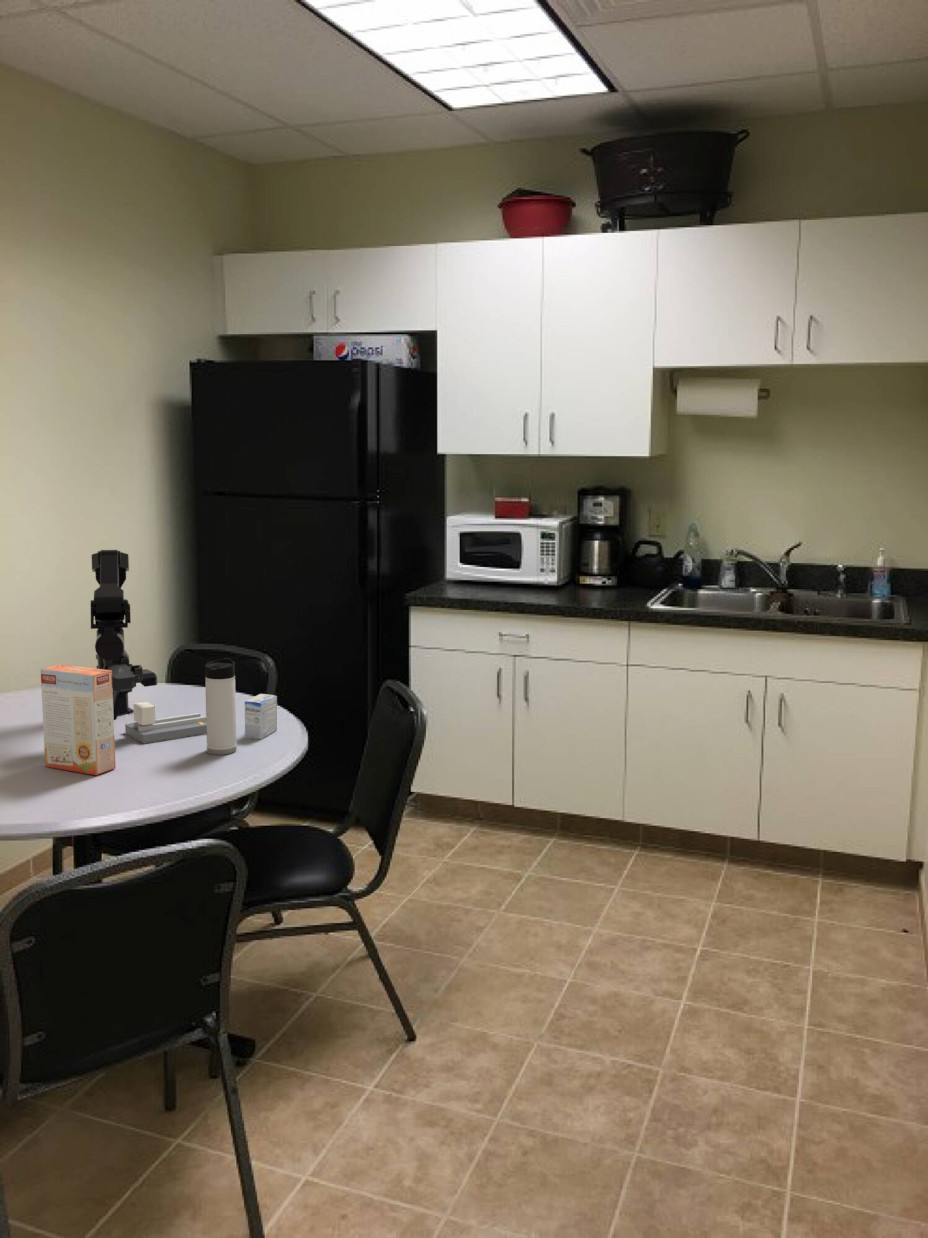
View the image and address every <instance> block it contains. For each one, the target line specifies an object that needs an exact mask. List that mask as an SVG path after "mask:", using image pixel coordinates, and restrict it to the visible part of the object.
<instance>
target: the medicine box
mask: <svg viewBox="0 0 928 1238" xmlns="http://www.w3.org/2000/svg"><path fill="white" fill-rule="evenodd" d="M277 730H278V696H277V695H275V694H266V693H259V694H257V695H255V696H253V697H252V698H250V699H247V700H245V701H244V738H246V739H252V738H254V740H263V739H264V738H266V737H268V736H269V735H272V734H273V733H275V732H277Z"/></svg>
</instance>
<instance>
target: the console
mask: <svg viewBox="0 0 928 1238" xmlns="http://www.w3.org/2000/svg"><path fill="white" fill-rule="evenodd" d="M124 727H125V729H124V730H125V731H124V732H125V733H126V734H127V735H128V736H130V737H131V738H133V739H135V738H136V739H135V740H137V741H139V742H140V743H142V744H144V745H145V744H152V743H156V742H157V741H158V742H164V740H165V741H170V740H175V738H177V739H182V738H188V737H187V736H189V737H194V736H195V737H196V736H200V735H207V727H206V715H203V716H201V713H200V712H196V713H195V712H194V713H190V714H182V715H175V716H169V717H168V716H167V717H162V718H157V719H156V718H155V724H150V725H144V726H138V728H137V722H136V721H135V722H131V723H125V724H124ZM158 742H157V743H158Z"/></svg>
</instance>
